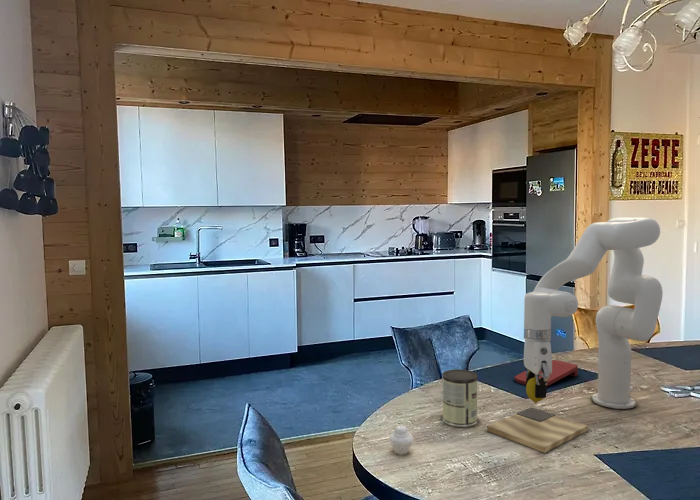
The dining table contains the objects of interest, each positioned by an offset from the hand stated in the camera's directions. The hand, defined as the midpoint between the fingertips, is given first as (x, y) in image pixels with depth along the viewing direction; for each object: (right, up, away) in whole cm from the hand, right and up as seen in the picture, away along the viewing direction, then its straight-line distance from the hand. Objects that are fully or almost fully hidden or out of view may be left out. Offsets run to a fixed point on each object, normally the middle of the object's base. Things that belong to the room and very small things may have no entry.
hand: (535, 393), depth 159 cm
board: (-2, -9, -8) cm, 12 cm away
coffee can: (-23, -8, 0) cm, 24 cm away
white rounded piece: (-42, -10, -20) cm, 48 cm away
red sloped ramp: (+18, -5, +39) cm, 43 cm away
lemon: (0, -3, 0) cm, 3 cm away
